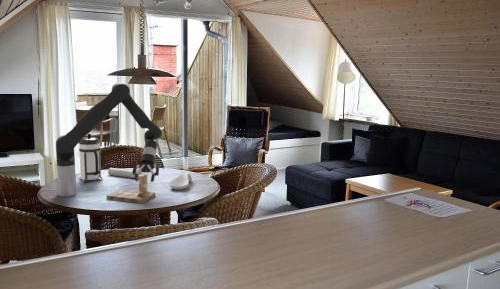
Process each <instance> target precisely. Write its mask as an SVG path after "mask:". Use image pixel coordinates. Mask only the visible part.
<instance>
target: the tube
mask: <svg viewBox="0 0 500 289" xmlns="http://www.w3.org/2000/svg"><path fill="white" fill-rule="evenodd" d="M132 171H133V170H130V169H122V168H114V167H109V169H108V170H107V174H108V175H109V176H114V177H115V176H117V177H121V176H122V177H123V178H130V179H134V178H135V175H133V172H132ZM137 171H138V170H136V172H137ZM141 174H142V175H144V174H143V172H142V173H141ZM141 174H139V175H141ZM139 175H138V180H139Z"/></svg>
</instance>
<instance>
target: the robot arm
mask: <svg viewBox="0 0 500 289" xmlns="http://www.w3.org/2000/svg"><path fill="white" fill-rule="evenodd" d="M130 92H131V90H130V87H129V86H128V85H127V84H125V83H123V82H116V83H114V84H113V86H112V87H111V91H110V92H109V93H108V94H107V96H106V97H105V98H103V99H101V101H99V102H97V103H96V104H94V105H93V106H92V107H90V108H89V109H88V110H87V111H86V112H85V113H84V114H83V115H82V116H81V118H79V120H78V121H77V123H76V124H75V125H74V127H72V129H71V130H70V131H68V132H67V133H66V134H65V135H60V136H59V137H57V139H56V142H55V154H56V156H55V157H56V170H57V171H56V173H57V175H56V176H57V177H56V178H55V184H56V186H55V187H56V195H57V196H59V197H62V198H63V197H64V198H65V197H67V198H68V197H72V196H76V195H77V181H76V180H77V177H76V158H75V148H76V147H77V145H79V142H80V141H81V140H82V138H86V136H87V135H88V134H91V132H92V131H93V130H94V129H95V128H96V127H97V126H99V125H100V124H101V123H102V122H103V121H104V120H105V119H106V118H107V117H108V115H110V113H111V112H112V111H113V110H114V109H115V108H116V107H117V106H119V105H120V104H122V105H123V106H124V108H126V110H127V111H128V112H129V114H130V115H131V117H133V119H134V120H135V122H136V123H137V125H138V126H139V127H140V128H141V129H143V130H144V129H147V130H145V132H144V134H143V135H144V137H143V138H144V139H143V140H144V147H143V152H142V155H141V158H140V163H139V164H137V163H134V165H133V168H132V170H131V171H132V172H133V175H135V178H133V179H134V181H135V182H137V183H138V182H139V179H138V175H139V174H141V173H142V174H143V173H144V174H145V173H147V174H148V173H150V174H151V176H150V177H151V178H150V182H151V183H153V182H154V181H155V177H156V176H159V174H160V165H159V164H155V161H156V157H157V149H158V143H157V141H155V140H158V139H160V138H161V137H162V135H163V133H162V132H163V131H162V128H160V126H158V125H157V124H156V123H155V122H154V121H152V120H151V119H150V117H149V116H148V115H147V114H146V113H145V111H144V110H143V109H142V108H141V106H139V105H138V104H137V103H136V101H135V100H134V99H133V97H132V95H131V93H130ZM154 169H155V171H154ZM136 171H137V172H136Z"/></svg>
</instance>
